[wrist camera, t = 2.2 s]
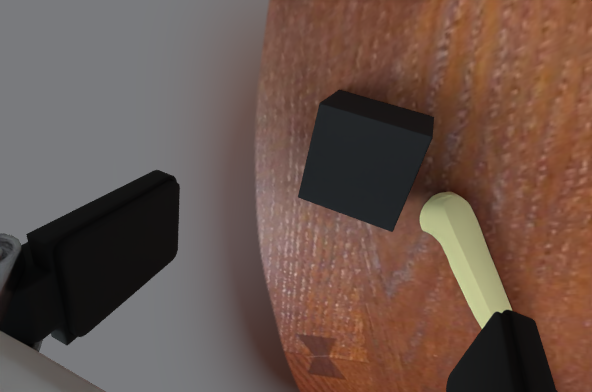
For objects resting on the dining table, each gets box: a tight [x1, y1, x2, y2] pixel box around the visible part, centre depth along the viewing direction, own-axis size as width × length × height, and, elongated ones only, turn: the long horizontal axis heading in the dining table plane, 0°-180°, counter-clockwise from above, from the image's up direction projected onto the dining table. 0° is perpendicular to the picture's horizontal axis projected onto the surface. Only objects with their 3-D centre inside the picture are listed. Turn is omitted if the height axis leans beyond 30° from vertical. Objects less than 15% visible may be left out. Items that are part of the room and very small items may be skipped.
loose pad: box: [298, 90, 434, 232], centre depth 17 cm, size 5×5×4 cm
